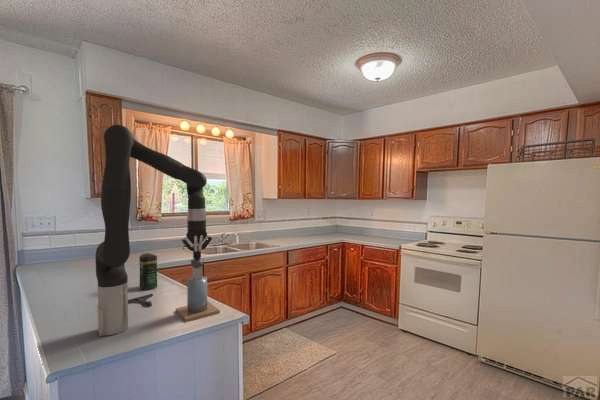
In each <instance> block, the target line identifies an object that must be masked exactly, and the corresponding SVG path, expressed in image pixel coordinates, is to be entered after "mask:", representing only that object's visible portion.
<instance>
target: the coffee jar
mask: <svg viewBox="0 0 600 400" xmlns="http://www.w3.org/2000/svg"><path fill="white" fill-rule="evenodd" d="M138 261H139V288H140V290H143V291H147V290H148V291H150V290H151V291H152V290H153V289H156V288H157V287H158V256H157V255H155V254H152V253H150V252H149V253H142V254H141V255H139V260H138Z"/></svg>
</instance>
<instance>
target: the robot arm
mask: <svg viewBox="0 0 600 400" xmlns="http://www.w3.org/2000/svg"><path fill="white" fill-rule="evenodd" d="M133 135H134V134H132V132H131V131H130V129H129V128H127V127H126V126H124V125H121V124H113V125H111V126H109V127H107V129H105V130H104V133H103V141H104V150H105V151H104V152H105V153H104V154H105V165H104V171H103V175H102V183H101V192H100V193H101V194H100V207H101V213H102V217H103V221H104V230H105V231H104V241H102V242H100V244H99V245H98V246H97V248H96V250H95V276H96V280H97V306H96V307H97V309H96V310H97V333H98V337H104V336H113V335H117V334H119V333H122V332H124V331H126V330H127V329H128V328H129V304H128V300H129V299H128V298H129V297H128V296H129V295H128V294H129V290H128V287H129V285H128V284H129V283H128V273H127V272H126V268H125V264H126V263H127V261H128V260H129V257H130V256H131V255H130V254H131V248H130V236H129V223H130V214H131V201H132V200H131V199H132V182H131V181H132V179H131V169H130V168H131V167H130V162H131V161H130V160H131V158H132V159H135V160H137V161H139V162H142V163H144V164H145V165H148V166H150V167H151V168H153V169H155V170H156V171H159V172H161V173H162V174H165V175H166V176H168V177H169V178H172V179H174V180H179V181H181V182H182V183H185V184H186V193H187V216H186V220H187V224H186V225H187V227H186V228H187V233H186V234H185V235H186V236H185V237H184V238H182V239H180V241H181V242H182V244H183V245H184V246H185V247H186V248H187V249H188V250H189V251H192V259H195V260H200V259H202V251H204V250H205V249H206V248H207V247H208V245H209V244H210V243H211V241H212V240H213V238H212V237H211V236H210V235H209V234H208V233H207V212H206V197H205V195H204V187H205V186H206V185H207V182H208V180H207V177H206V175H205V174H204V173H202V172H201V171H199V170H197V169H195V168H192V167H190V166H187V165H185V164H183V163H182V162H180V161H178V160H176V159H175V158H173V157H171V156H169V155H166V154H164V153H161V152H159V151H157V150H155V149H152V148H149V146H148V147H147V146H146V145H144V144H143V143H141V142H140V141H138V140H136V139H135V138H134V136H133ZM189 242H190V243H191V245H192V246H191V245H190V243H189Z"/></svg>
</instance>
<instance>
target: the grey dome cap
mask: <svg viewBox="0 0 600 400" xmlns="http://www.w3.org/2000/svg"><path fill="white" fill-rule="evenodd" d="M203 266H205V265H204V259H203V258H200V260H195V259H194V258H192V259H190V267H192V268H193V267H196V268H199V267H203Z"/></svg>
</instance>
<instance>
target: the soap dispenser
mask: <svg viewBox="0 0 600 400" xmlns="http://www.w3.org/2000/svg"><path fill="white" fill-rule="evenodd" d="M186 283H187V285H186V288H187V290H186V291H187V292H186V293H187V297H186V298H187V300H186V301H187V302H186V303H187V305H184V306H179V307H175V312H176V313H177V314H178V316H180V318H181V319H183V321H184V322H185V323H188V322H191V321H195V320H200V319H203V318H205V317H206V318H207V317H210V316H213V315H214V316H215V315H218V314H220V313H221V310H220V309H219V308H217V307H216V306H215V305H214V304H212V303H211V302H210V301H208V277H207V276H203V266H200V267H199V268H196V267H192V277H188V278H187V280H186Z"/></svg>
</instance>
